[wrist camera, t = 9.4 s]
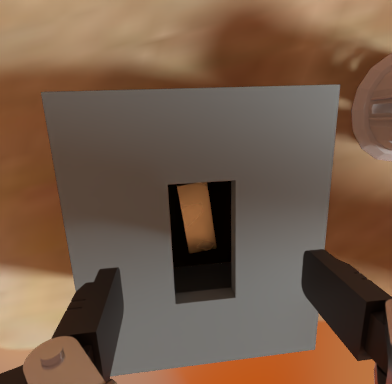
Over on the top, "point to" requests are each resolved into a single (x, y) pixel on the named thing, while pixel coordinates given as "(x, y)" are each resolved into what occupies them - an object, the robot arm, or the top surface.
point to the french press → (375, 111)
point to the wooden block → (197, 216)
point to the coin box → (160, 216)
